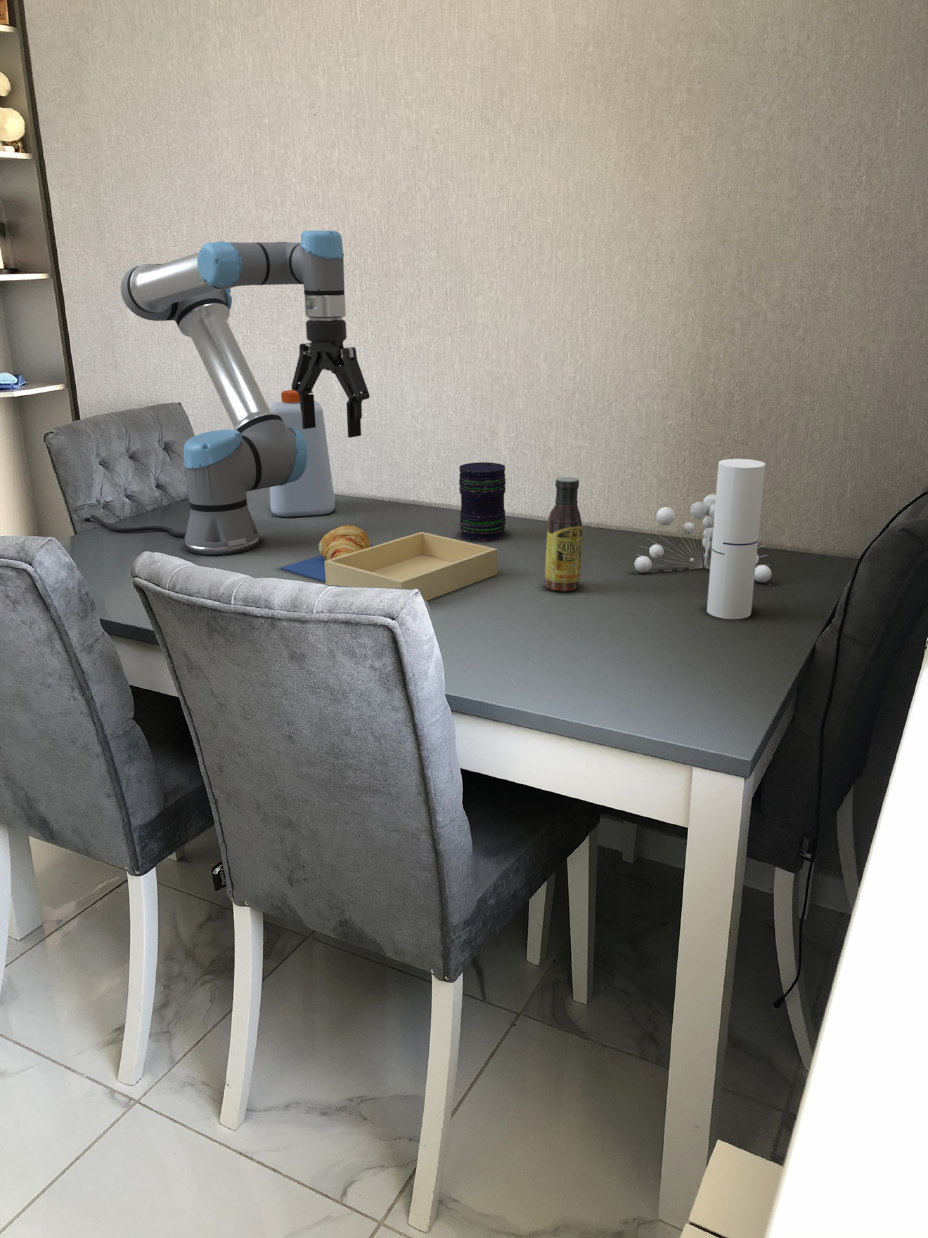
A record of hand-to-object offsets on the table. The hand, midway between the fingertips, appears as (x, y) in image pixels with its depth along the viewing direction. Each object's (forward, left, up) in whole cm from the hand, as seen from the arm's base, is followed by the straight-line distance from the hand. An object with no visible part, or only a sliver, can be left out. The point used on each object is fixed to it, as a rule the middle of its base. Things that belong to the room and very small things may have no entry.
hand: (331, 432), depth 189 cm
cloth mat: (+7, -4, -25) cm, 26 cm away
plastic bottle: (-34, +19, -25) cm, 46 cm away
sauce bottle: (+49, +10, -25) cm, 56 cm away
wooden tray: (+25, -4, -25) cm, 35 cm away
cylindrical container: (+78, +17, -25) cm, 83 cm away
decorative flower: (+61, +34, -25) cm, 74 cm away
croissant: (+6, -4, -24) cm, 25 cm away
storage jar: (+15, +28, -25) cm, 40 cm away
